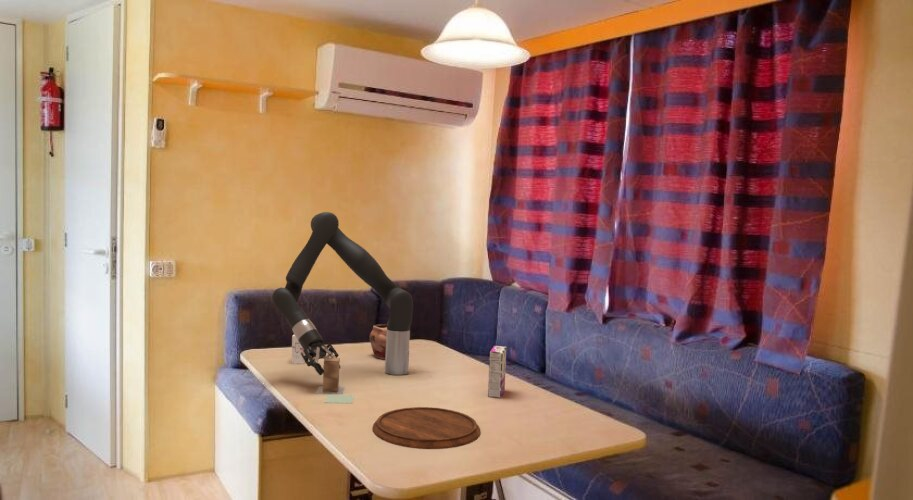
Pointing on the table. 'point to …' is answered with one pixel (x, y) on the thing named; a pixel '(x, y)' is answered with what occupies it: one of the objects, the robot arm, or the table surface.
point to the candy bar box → (497, 371)
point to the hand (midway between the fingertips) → (330, 371)
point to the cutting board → (426, 428)
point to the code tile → (320, 391)
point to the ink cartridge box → (296, 351)
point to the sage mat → (339, 399)
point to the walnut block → (331, 374)
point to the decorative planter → (379, 340)
